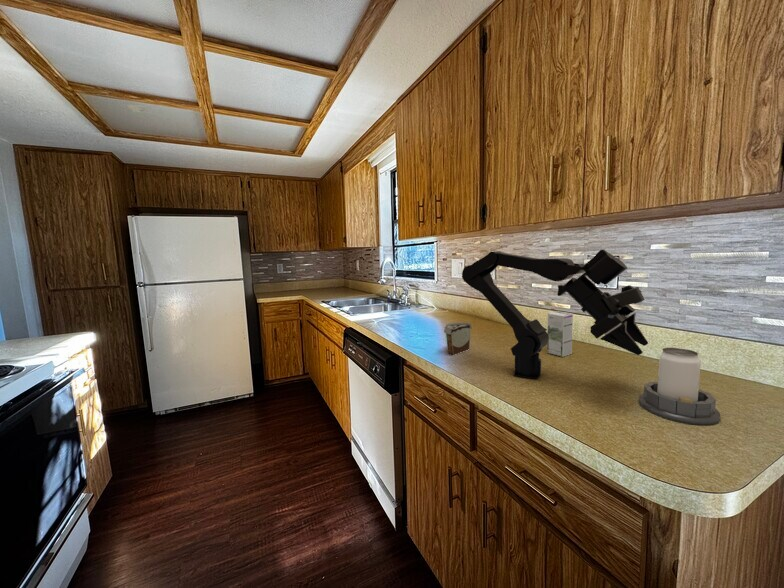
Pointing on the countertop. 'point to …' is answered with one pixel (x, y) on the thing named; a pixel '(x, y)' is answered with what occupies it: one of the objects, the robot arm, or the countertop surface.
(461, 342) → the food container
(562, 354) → the syrup box
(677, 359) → the can
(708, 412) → the collar
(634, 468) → the countertop surface
